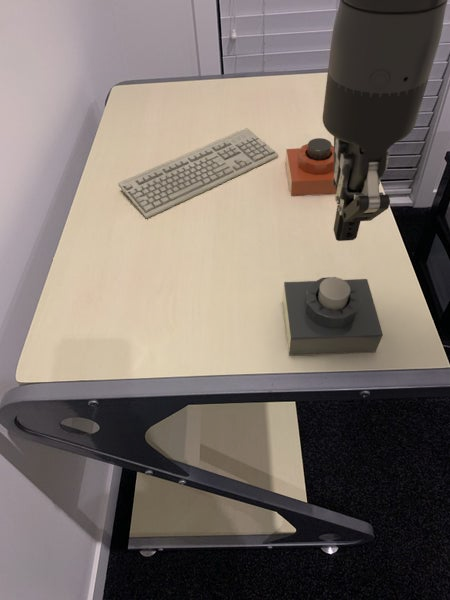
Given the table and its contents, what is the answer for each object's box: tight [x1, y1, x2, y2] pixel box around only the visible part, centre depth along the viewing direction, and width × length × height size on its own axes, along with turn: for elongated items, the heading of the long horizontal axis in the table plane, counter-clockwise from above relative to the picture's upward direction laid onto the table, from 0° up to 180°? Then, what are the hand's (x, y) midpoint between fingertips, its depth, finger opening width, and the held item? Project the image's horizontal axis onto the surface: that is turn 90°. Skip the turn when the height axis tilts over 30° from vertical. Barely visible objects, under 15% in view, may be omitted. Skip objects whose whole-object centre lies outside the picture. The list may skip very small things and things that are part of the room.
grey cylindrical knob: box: [318, 276, 350, 310], centre depth 52 cm, size 4×4×2 cm
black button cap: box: [307, 137, 333, 161], centre depth 74 cm, size 4×4×2 cm
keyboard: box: [117, 127, 279, 219], centre depth 80 cm, size 29×10×2 cm, turn 125°
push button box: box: [282, 276, 384, 356], centre depth 55 cm, size 11×9×6 cm
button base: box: [285, 143, 337, 197], centre depth 76 cm, size 10×10×5 cm
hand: (344, 235), depth 46 cm, fingers closed
